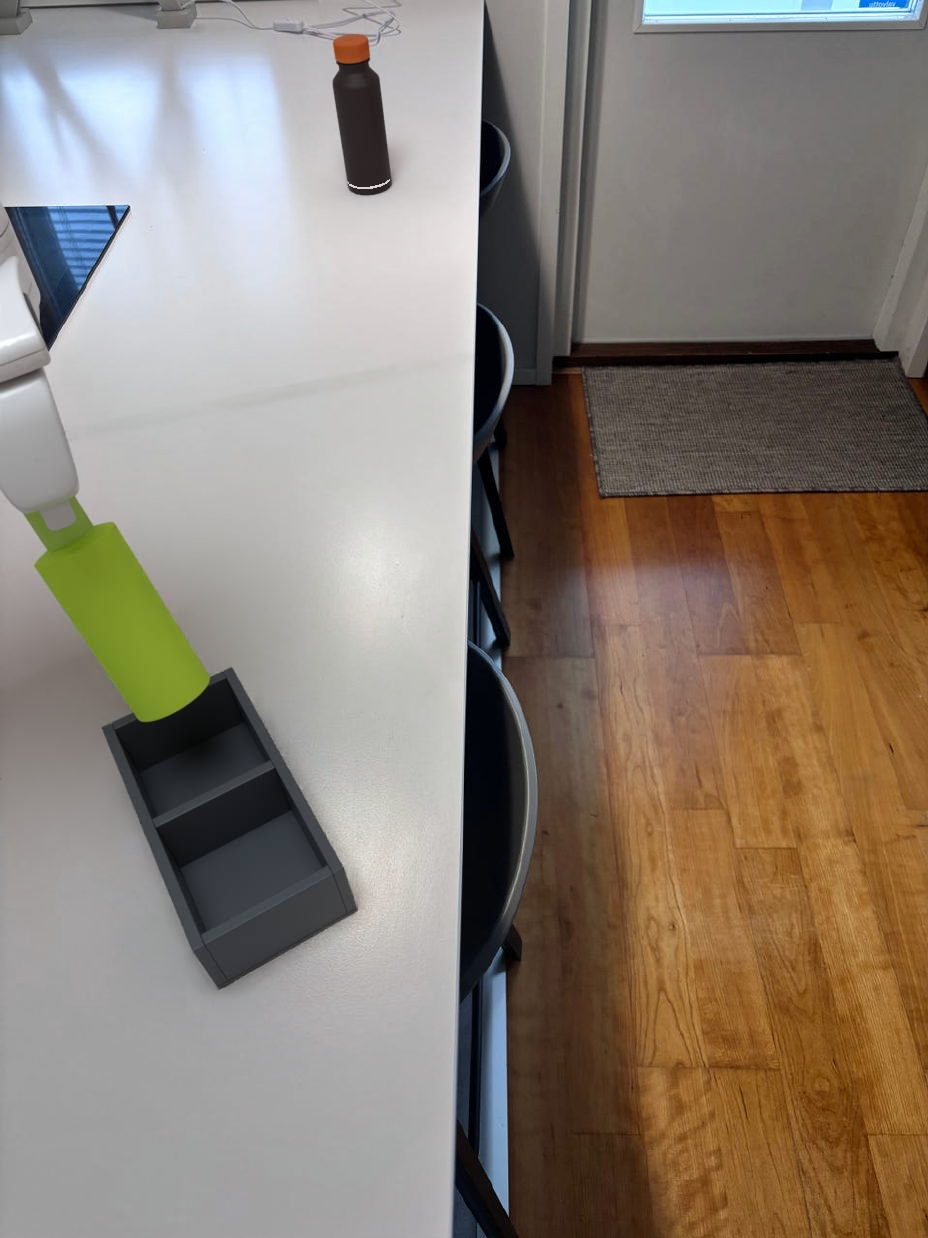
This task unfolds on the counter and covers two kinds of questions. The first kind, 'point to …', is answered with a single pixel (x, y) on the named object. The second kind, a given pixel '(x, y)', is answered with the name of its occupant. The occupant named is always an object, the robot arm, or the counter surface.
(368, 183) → the bottle
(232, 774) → the storage box
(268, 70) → the counter surface
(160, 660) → the soap dispenser
